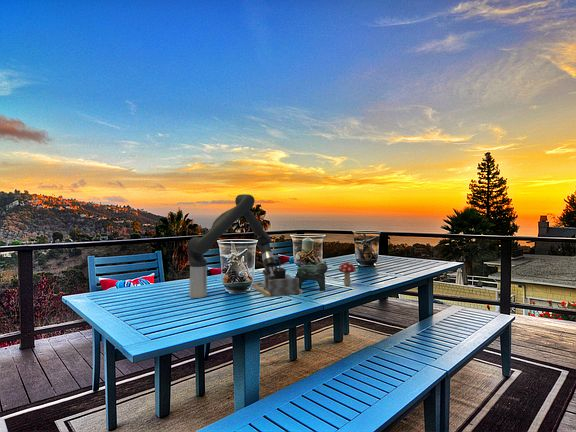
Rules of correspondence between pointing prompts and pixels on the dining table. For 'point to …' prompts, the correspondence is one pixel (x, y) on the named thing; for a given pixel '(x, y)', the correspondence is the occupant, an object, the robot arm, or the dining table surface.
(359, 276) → the dining table surface
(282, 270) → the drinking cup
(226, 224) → the robot arm
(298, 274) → the dark green legged piece
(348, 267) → the decorative mushroom
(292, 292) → the vise frame
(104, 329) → the dining table surface
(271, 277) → the sliding jaw
